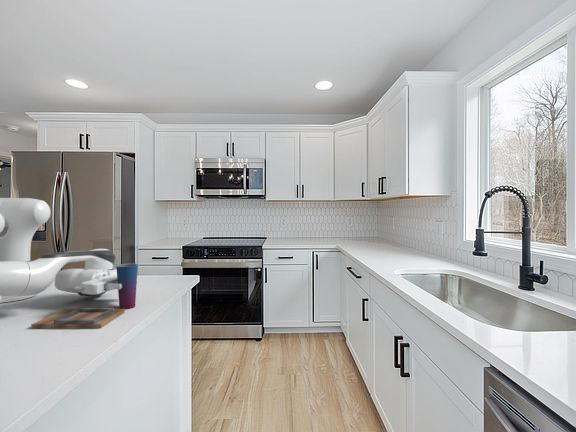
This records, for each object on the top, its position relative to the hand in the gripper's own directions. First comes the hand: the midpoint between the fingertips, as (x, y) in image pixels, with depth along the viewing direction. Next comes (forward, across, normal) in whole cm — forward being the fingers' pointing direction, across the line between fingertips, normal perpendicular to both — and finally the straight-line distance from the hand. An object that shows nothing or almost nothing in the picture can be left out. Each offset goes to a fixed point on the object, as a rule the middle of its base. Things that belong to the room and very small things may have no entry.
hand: (129, 283), depth 111 cm
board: (-6, -14, +8) cm, 18 cm away
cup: (-1, 0, +8) cm, 9 cm away
